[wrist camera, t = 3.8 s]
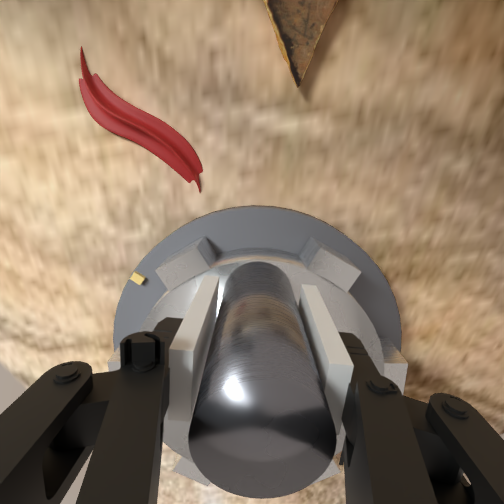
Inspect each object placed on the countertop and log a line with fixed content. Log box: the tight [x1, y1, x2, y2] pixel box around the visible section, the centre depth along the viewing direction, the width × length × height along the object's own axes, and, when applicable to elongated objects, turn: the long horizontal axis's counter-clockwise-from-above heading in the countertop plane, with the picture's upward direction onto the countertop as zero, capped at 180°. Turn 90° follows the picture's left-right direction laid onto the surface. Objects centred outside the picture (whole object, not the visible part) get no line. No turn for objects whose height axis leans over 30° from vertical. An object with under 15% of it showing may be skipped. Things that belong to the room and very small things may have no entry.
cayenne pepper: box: [79, 46, 203, 192], centre depth 20 cm, size 12×5×2 cm, turn 31°
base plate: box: [113, 205, 401, 352], centre depth 23 cm, size 21×21×2 cm
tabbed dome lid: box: [108, 236, 408, 499], centre depth 16 cm, size 18×19×13 cm
